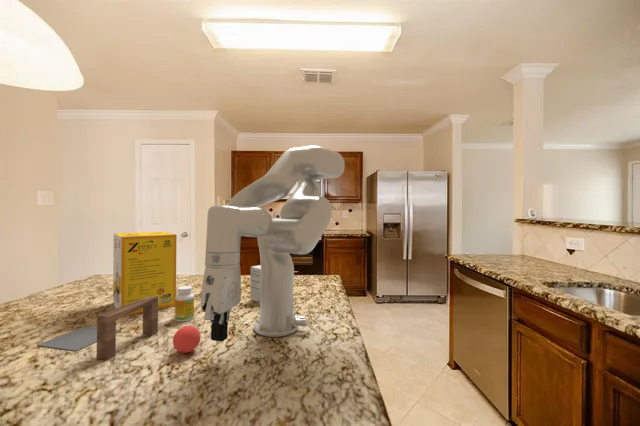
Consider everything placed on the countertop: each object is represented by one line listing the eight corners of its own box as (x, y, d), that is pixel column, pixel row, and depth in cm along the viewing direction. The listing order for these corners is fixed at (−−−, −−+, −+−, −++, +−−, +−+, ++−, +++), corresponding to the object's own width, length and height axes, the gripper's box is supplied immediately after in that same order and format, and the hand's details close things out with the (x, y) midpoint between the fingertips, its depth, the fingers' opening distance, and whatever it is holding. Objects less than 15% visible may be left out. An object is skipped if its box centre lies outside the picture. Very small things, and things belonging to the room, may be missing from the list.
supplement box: (264, 295, 116) (265, 263, 115) (277, 299, 111) (277, 266, 111) (249, 299, 110) (249, 266, 110) (262, 304, 105) (262, 269, 105)
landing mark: (120, 330, 81) (120, 330, 81) (76, 351, 69) (76, 350, 69) (85, 326, 83) (85, 325, 83) (36, 345, 71) (37, 344, 71)
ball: (205, 347, 72) (205, 322, 72) (189, 359, 66) (190, 333, 66) (184, 344, 73) (184, 320, 73) (166, 356, 67) (167, 330, 67)
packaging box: (113, 303, 103) (113, 233, 103) (163, 295, 114) (164, 231, 113) (119, 316, 91) (120, 236, 91) (175, 305, 102) (176, 234, 101)
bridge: (157, 332, 80) (158, 297, 80) (107, 359, 65) (107, 316, 65) (148, 331, 80) (148, 296, 80) (96, 358, 66) (96, 315, 66)
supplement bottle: (186, 322, 87) (187, 290, 87) (170, 321, 88) (171, 289, 88) (197, 316, 92) (198, 285, 92) (182, 314, 93) (182, 284, 93)
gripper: (220, 265, 59) (215, 356, 58) (251, 256, 74) (248, 329, 73) (187, 262, 60) (182, 351, 60) (224, 254, 75) (221, 326, 75)
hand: (219, 339), depth 67 cm, fingers closed
